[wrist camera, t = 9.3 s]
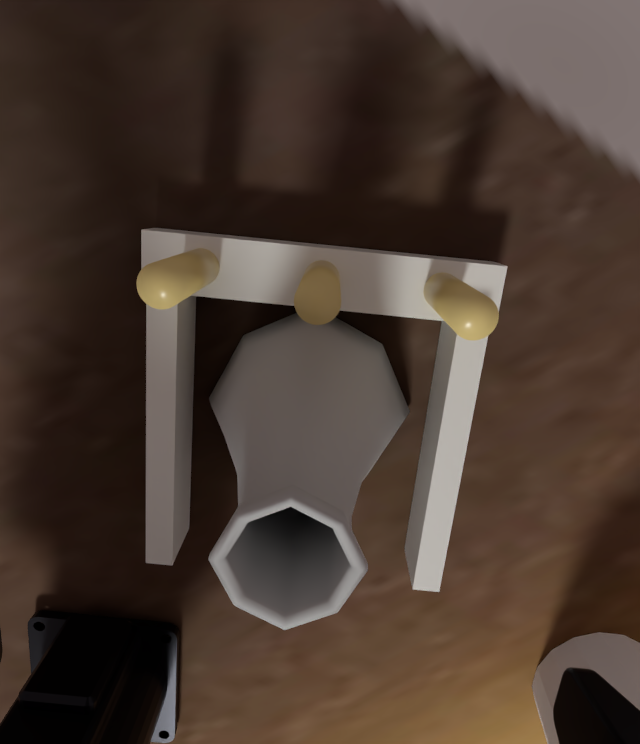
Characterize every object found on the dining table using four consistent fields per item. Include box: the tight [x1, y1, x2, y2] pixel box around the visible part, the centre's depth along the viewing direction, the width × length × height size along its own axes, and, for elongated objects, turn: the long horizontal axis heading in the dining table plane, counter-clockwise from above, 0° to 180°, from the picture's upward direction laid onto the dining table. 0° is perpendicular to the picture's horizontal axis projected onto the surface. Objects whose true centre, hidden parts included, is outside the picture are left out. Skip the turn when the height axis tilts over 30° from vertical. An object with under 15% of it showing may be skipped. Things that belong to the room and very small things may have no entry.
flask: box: [208, 313, 410, 630], centre depth 16 cm, size 7×7×10 cm
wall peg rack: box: [136, 228, 507, 592], centre depth 18 cm, size 12×12×6 cm
